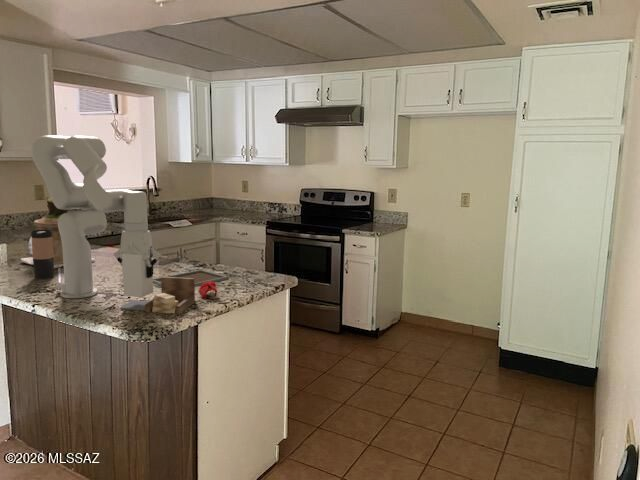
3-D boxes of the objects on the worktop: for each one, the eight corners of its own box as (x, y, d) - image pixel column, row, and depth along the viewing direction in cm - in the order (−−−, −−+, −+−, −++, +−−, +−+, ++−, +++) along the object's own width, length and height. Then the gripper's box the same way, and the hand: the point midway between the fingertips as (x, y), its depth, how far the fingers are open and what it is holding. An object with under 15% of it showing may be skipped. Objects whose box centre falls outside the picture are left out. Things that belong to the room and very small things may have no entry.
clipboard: (228, 276, 213) (169, 289, 190) (228, 280, 213) (169, 293, 190) (201, 269, 225) (142, 280, 202) (202, 272, 225) (143, 284, 202)
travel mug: (48, 274, 212) (45, 229, 208) (58, 277, 208) (55, 230, 204) (30, 277, 205) (27, 231, 202) (40, 280, 201) (37, 233, 198)
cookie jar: (47, 270, 218) (42, 199, 213) (18, 263, 231) (13, 196, 225) (97, 261, 239) (94, 196, 234) (68, 255, 252) (64, 193, 246)
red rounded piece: (222, 289, 185) (217, 278, 188) (210, 286, 180) (204, 275, 184) (211, 303, 187) (205, 292, 191) (198, 301, 183) (193, 290, 186)
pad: (120, 309, 168) (120, 307, 167) (132, 301, 176) (132, 300, 176) (145, 310, 167) (145, 308, 167) (156, 302, 176) (156, 301, 176)
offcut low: (152, 313, 166) (152, 307, 165) (157, 310, 169) (157, 304, 169) (174, 315, 165) (174, 308, 164) (179, 311, 169) (179, 305, 168)
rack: (145, 313, 164) (144, 287, 163) (163, 300, 179) (162, 276, 178) (179, 314, 163) (179, 289, 162) (194, 301, 178) (194, 278, 177)
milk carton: (123, 296, 168) (121, 242, 165) (136, 290, 175) (133, 239, 172) (141, 297, 167) (139, 243, 164) (153, 292, 173) (151, 240, 170)
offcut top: (154, 300, 167) (154, 295, 167) (163, 297, 170) (163, 292, 169) (166, 303, 163) (165, 298, 163) (175, 301, 166) (175, 296, 165)
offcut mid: (153, 306, 166) (153, 300, 166) (160, 303, 170) (160, 298, 169) (171, 309, 164) (171, 303, 163) (178, 306, 167) (178, 300, 167)
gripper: (106, 227, 164) (108, 278, 167) (156, 229, 163) (157, 280, 165) (117, 224, 171) (119, 273, 174) (165, 226, 170) (166, 275, 173)
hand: (138, 276), depth 170 cm, fingers closed on milk carton, 7 cm apart
